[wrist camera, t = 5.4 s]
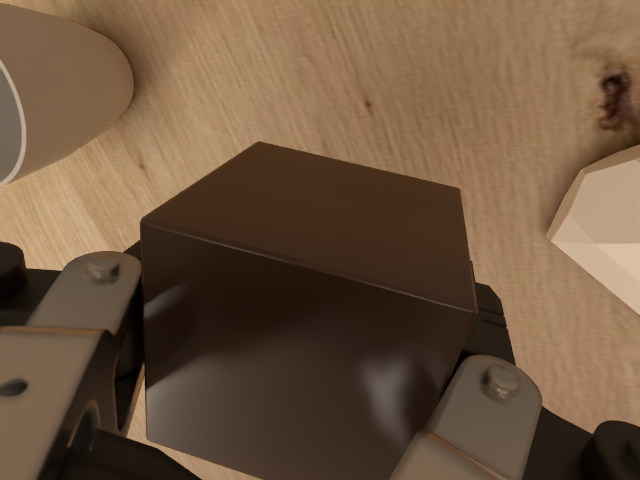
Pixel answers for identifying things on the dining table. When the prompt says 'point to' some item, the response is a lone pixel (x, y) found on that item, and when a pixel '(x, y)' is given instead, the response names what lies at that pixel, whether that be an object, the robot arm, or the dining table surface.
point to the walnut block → (302, 314)
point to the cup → (54, 89)
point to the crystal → (605, 223)
